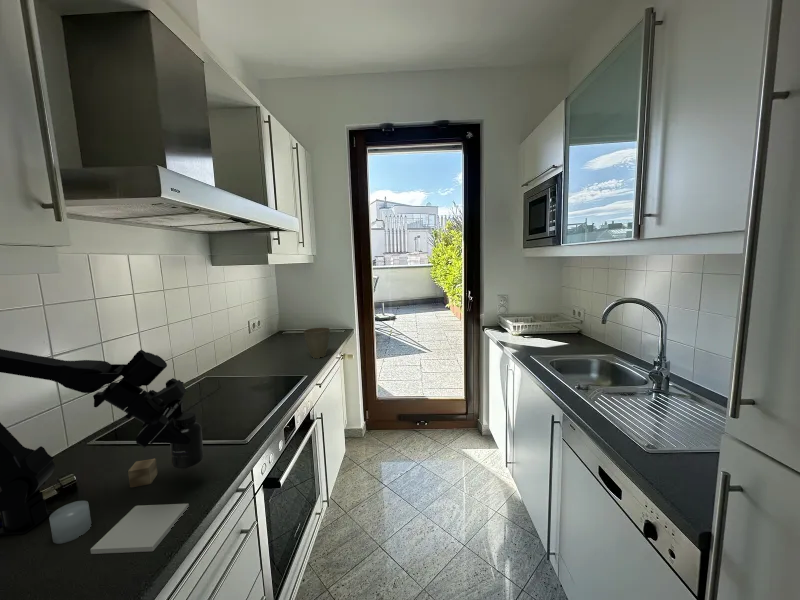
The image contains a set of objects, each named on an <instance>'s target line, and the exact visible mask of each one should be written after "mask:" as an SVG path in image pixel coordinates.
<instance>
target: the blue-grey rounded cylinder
mask: <svg viewBox="0 0 800 600" xmlns="http://www.w3.org/2000/svg"><path fill="white" fill-rule="evenodd" d="M48 517H49V518H48V519H49V524H50V530H51V538H52V542H53V543H54V544H58V545H59V544H66V543H68V542H71V541H74V540H76V539H78V538H79V536H80V537H82V536H83V535H84V534H86V533H87V532H88V531H89V530H90V529H91V528H92V525H91V524H92V517H91V511H90V506H89V502H88V501H87V500H77V501H73V502H70V503H67V504H65V505H63V506H61V507H59V508H58V509H56V510H53V513H52V514H51V515H49V516H48ZM90 527H91V528H90ZM81 535H82V536H81Z"/></svg>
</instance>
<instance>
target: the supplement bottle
mask: <svg viewBox="0 0 800 600" xmlns="http://www.w3.org/2000/svg"><path fill="white" fill-rule="evenodd" d="M173 423H174V426H175V427H176V428H177V429H178V430H180V431H181V432H182V433H183V434H185V435H186V436H187V437H188V438H189V439H190V440H191V441H190V442H189V443H188V444H174V443H169V445H170V458H171V465H172V468H175V469H179V470H184V469H187V468H191V467H194V466H197V465H198V464H199V463H201V461H203V459H204V444H203V443H204V442H203V432H202V429H203V428H202V425H201V424H200V423H199V422H198V421H197V415H196V413H195V412H192V411H190V412H189V411H187V412H186V411H185V413H181V414H179V415H176V416H175V417H174V418H173Z"/></svg>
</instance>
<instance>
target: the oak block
mask: <svg viewBox="0 0 800 600" xmlns="http://www.w3.org/2000/svg"><path fill="white" fill-rule="evenodd" d="M157 465H158V464H157V458H150V459H145V460H144V459H143V460H136V461H135V462H134V464H132V466H131V467H129V469H128V471H127V473H128V474H127V475H128V480H129V488H135V487H141V486H147V485H151V484H152V483H153V481H154V480H155V478H156V477H157V475H158V466H157Z"/></svg>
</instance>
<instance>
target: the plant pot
mask: <svg viewBox="0 0 800 600" xmlns="http://www.w3.org/2000/svg"><path fill="white" fill-rule="evenodd" d="M330 333H331V328H329V327H313V328H307V329H304V330H303V335H304V339H305V344H306V347H307V349H308V351H309V354H310V356H311V358H312V357H314V358H313V359H315V358H318V359H321V358H320V357H323V358H325V357H326V355H327V351H328V346H329V342H330V337H331V335H330ZM324 356H325V357H324Z"/></svg>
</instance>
